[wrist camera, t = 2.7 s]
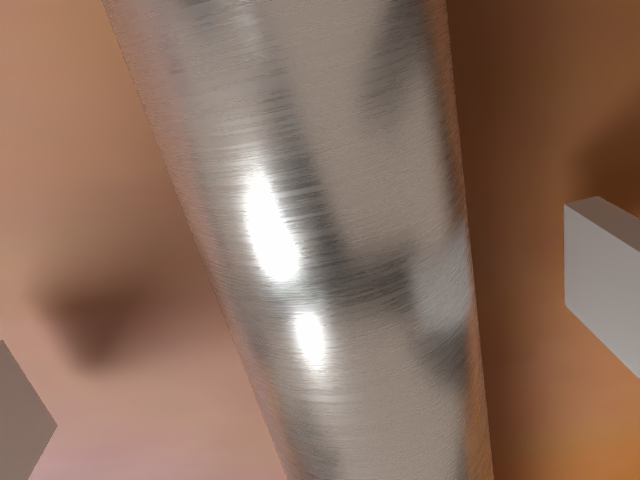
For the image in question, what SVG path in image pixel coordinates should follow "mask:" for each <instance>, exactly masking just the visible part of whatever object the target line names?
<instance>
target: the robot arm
mask: <svg viewBox="0 0 640 480" xmlns="http://www.w3.org/2000/svg"><path fill="white" fill-rule="evenodd" d="M564 267H565V306H566V307H567V308H568V309H569V310H570V311H571V312H572V313H573V314H574V315H575V316H576V317H577V318H578V319H579V320H580V321H581V322H582V323H583V324H584V325H585V326H586V327H587V328H588V329H589V330H590V331H591V332H592V333H593V334H594V335H595V336H596V337H597V338H598V339H599V340H600V341H601V342H602V343H603V344H604V345H605V346H606V347H607V348H608V349H609V350H610V351H611V352H612V353H614V354H615V355H616V356H617V357H618V358H619V359H620V360H621V361H622V362H623V363H624V364H625V365H626V366H627V367H628V368H629V369H630V370H631V371H632V372H633V373H634V374H635V375H636V376H637V377H638V378H639V379H640V218H638V217H636V216H634V215H632V214H630V213H629V212H627V211H625V210H623V209H621V208H619V207H618V206H616V205H614V204H612V203H610V202H608V201H606V200H605V199H603V198H601V197H599V196H595V197H590V198H586V199H582V200H578V201H574V202H570V203H566V204H564ZM57 426H58V425H57V424H56V422H55V421H54V419H53V418H52V416H51V414H50V413H49V411H48V410H47V408H46V407H45V405H44V403H43V402H42V400H41V399H40V397H39V396H38V394H37V393H36V391H35V389H34V388H33V386H32V385H31V383H30V382H29V380H28V379H27V377H26V375H25V374H24V372H23V371H22V369H21V368H20V366H19V364H18V363H17V361H16V360H15V358H14V357H13V355H12V354H11V352H10V350H9V349H8V347H7V346H6V344H5V343H4V341H3V340H1V341H0V480H28V478H29V476H30V475H31V473H32V471H33V469H34V467H35V466H36V464H37V462H38V460H39V458H40V456H41V455H42V453H43V451H44V449H45V447H46V446H47V444H48V442H49V440H50V438H51V437H52V435H53V433H54V431H55V429H56V427H57Z"/></svg>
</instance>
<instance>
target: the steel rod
mask: <svg viewBox="0 0 640 480" xmlns="http://www.w3.org/2000/svg"><path fill="white" fill-rule="evenodd" d="M102 3H103V5H104V8H105V10H106V13H107V16H108V18H109V21H110V23H111V26H112V28H113V31H114V34H115V36H116V39H117V41H118V44H119V46H120V49H121V52H122V54H123V57H124V59H125V62H126V64H127V67H128V70H129V72H130V75H131V77H132V80H133V83H134V85H135V88H136V90H137V93H138V95H139V98H140V101H141V103H142V106H143V108H144V111H145V113H146V116H147V119H148V121H149V124H150V126H151V129H152V132H153V134H154V137H155V139H156V142H157V144H158V147H159V150H160V152H161V155H162V157H163V160H164V162H165V165H166V168H167V170H168V173H169V175H170V178H171V181H172V183H173V186H174V188H175V191H176V193H177V196H178V199H179V201H180V204H181V206H182V209H183V211H184V214H185V217H186V219H187V222H188V224H189V227H190V229H191V232H192V235H193V237H194V240H195V242H196V245H197V248H198V250H199V253H200V255H201V258H202V260H203V263H204V266H205V268H206V271H207V273H208V276H209V278H210V281H211V284H212V286H213V289H214V291H215V294H216V297H217V299H218V302H219V304H220V307H221V309H222V312H223V315H224V317H225V320H226V322H227V325H228V327H229V330H230V333H231V335H232V338H233V340H234V343H235V346H236V348H237V351H238V353H239V356H240V358H241V361H242V364H243V366H244V369H245V371H246V374H247V376H248V379H249V382H250V384H251V387H252V389H253V392H254V394H255V397H256V400H257V402H258V405H259V407H260V410H261V413H262V415H263V418H264V420H265V423H266V425H267V428H268V431H269V433H270V436H271V438H272V441H273V443H274V446H275V449H276V451H277V454H278V456H279V459H280V462H281V464H282V467H283V469H284V472H285V474H286V477H287V480H494V475H493V465H492V455H491V445H490V435H489V425H488V415H487V405H486V395H485V385H484V375H483V365H482V355H481V345H480V335H479V325H478V315H477V305H476V295H475V285H474V275H473V265H472V255H471V245H470V235H469V225H468V215H467V205H466V195H465V185H464V175H463V165H462V155H461V145H460V135H459V125H458V115H457V105H456V95H455V85H454V75H453V65H452V55H451V45H450V35H449V25H448V15H447V5H446V0H102Z"/></svg>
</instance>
